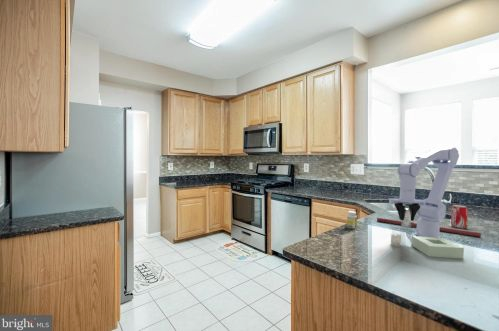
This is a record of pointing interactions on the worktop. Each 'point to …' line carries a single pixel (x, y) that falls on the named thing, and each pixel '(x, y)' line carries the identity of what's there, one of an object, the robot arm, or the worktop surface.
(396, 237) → the short pin
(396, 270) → the worktop surface
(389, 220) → the rolling pin
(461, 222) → the soda can
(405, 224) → the long pin
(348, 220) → the supplement bottle
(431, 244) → the hole block
